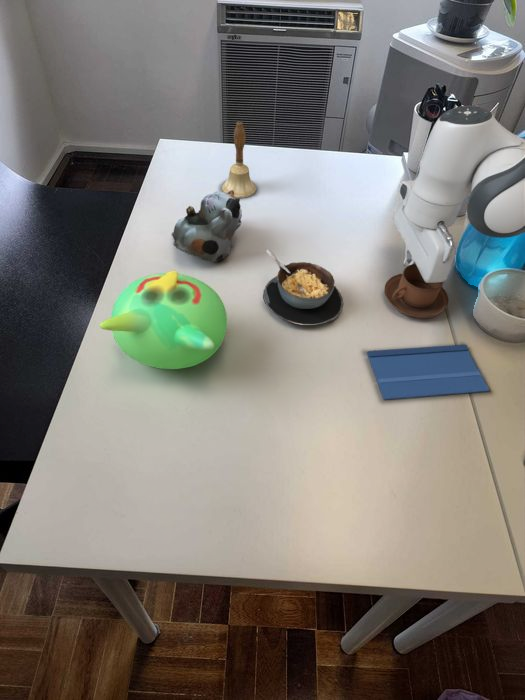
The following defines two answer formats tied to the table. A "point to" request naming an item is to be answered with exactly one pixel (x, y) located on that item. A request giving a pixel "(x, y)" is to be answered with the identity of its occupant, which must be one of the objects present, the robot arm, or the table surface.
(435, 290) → the cup and saucer
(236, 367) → the table surface
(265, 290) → the soup bowl
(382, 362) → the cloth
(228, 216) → the lucky cat figurine
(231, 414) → the table surface
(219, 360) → the table surface
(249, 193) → the hand bell
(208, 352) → the toy bird
